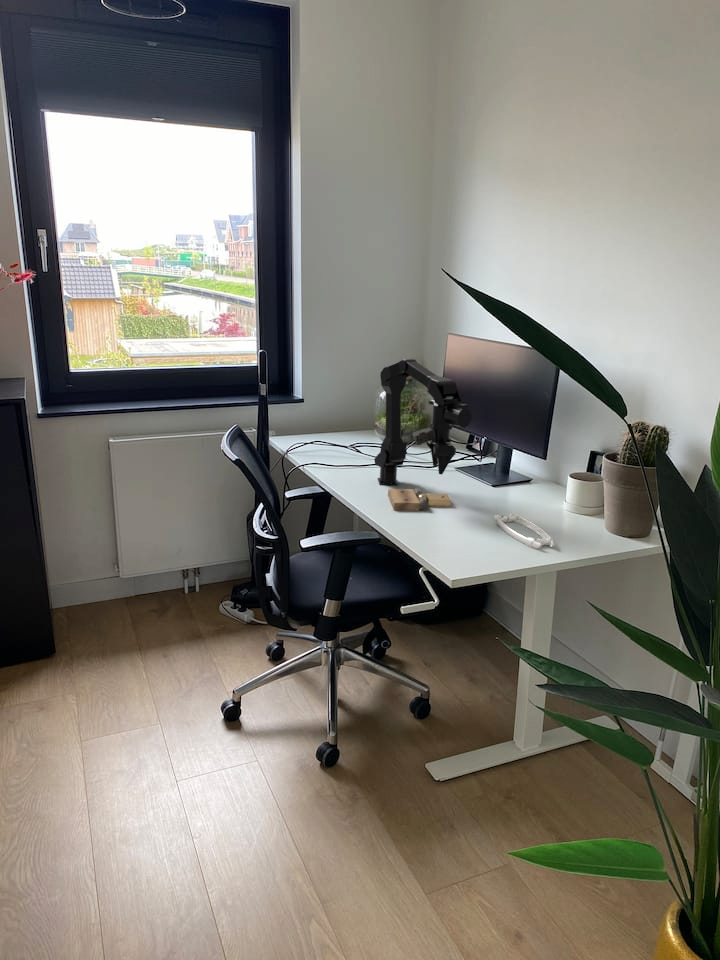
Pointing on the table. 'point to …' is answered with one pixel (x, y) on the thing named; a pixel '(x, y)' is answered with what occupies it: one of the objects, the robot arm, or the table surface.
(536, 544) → the door handle
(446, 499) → the tan knobbed block
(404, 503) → the tan flat piece
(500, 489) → the table surface
